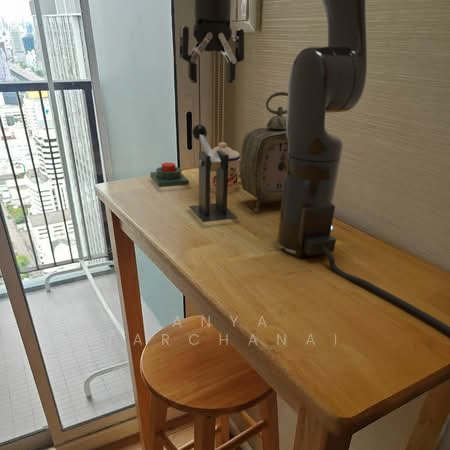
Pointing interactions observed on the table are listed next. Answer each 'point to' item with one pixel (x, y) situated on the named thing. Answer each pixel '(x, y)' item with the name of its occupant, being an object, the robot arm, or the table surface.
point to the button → (168, 167)
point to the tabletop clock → (265, 158)
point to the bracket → (220, 207)
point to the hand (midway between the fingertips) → (212, 82)
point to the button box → (169, 178)
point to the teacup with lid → (232, 166)
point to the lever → (207, 147)
